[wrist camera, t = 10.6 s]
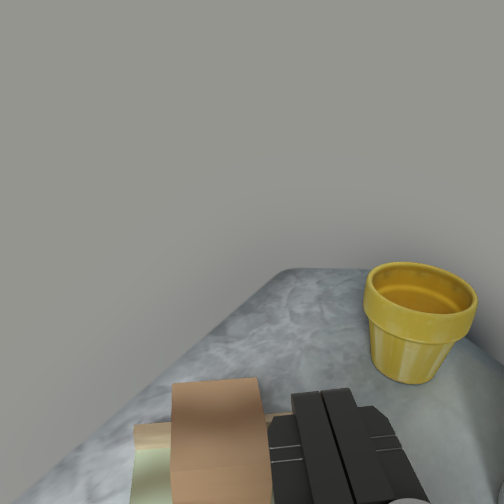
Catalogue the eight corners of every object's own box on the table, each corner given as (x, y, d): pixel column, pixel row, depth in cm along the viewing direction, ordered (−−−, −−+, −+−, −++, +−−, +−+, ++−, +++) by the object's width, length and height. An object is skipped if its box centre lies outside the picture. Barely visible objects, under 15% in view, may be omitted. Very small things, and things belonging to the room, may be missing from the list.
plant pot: (402, 323, 55) (418, 252, 50) (476, 377, 47) (503, 298, 42) (334, 348, 50) (345, 272, 46) (403, 413, 42) (425, 329, 38)
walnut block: (267, 542, 30) (273, 461, 26) (176, 553, 29) (169, 472, 26) (253, 452, 36) (256, 377, 32) (177, 459, 35) (172, 383, 32)
